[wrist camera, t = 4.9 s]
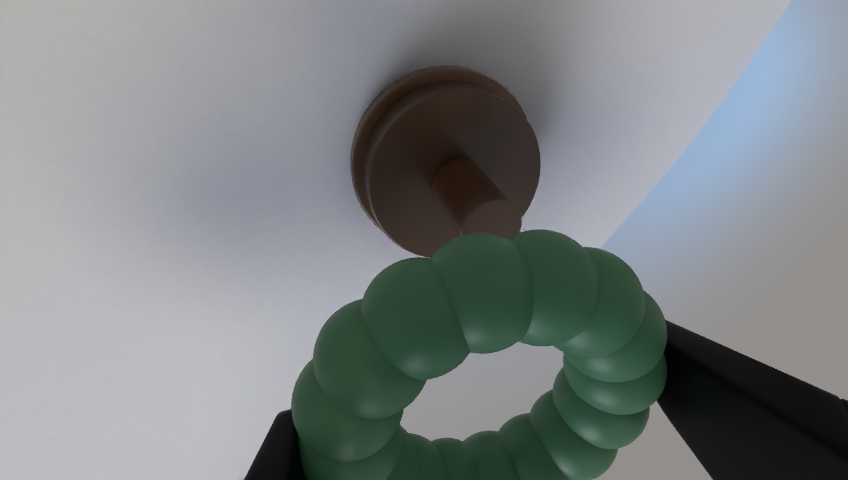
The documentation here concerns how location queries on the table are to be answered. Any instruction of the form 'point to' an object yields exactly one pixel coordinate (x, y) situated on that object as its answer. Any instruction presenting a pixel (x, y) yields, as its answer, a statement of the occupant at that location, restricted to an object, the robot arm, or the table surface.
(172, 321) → the table surface
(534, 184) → the stand
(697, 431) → the robot arm
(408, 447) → the ring
